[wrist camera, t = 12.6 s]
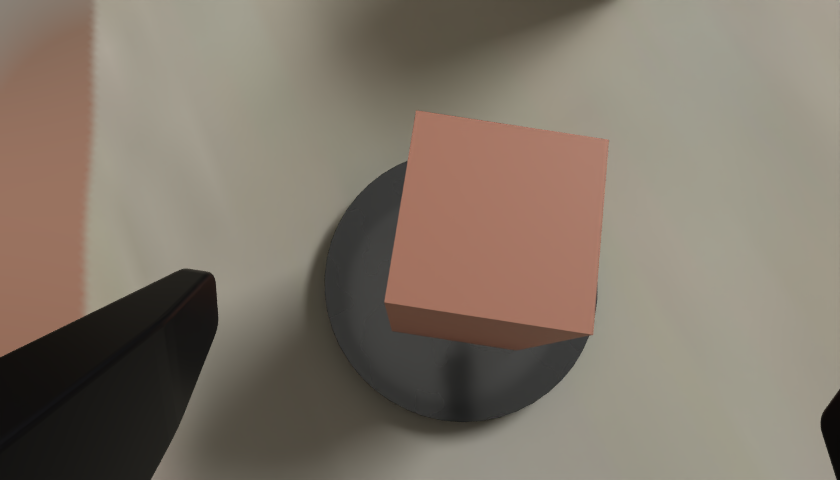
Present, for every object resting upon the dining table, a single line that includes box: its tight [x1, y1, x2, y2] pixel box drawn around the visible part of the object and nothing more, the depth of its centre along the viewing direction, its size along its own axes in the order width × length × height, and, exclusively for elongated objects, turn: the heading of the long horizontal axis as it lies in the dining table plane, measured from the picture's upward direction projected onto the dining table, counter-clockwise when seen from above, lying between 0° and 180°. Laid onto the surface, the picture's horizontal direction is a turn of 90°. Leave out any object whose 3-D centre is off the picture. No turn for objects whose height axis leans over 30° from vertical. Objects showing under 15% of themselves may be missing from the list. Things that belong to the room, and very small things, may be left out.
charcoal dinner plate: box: [325, 161, 597, 422], centre depth 22 cm, size 10×10×1 cm
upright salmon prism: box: [384, 110, 609, 351], centre depth 17 cm, size 4×4×8 cm
